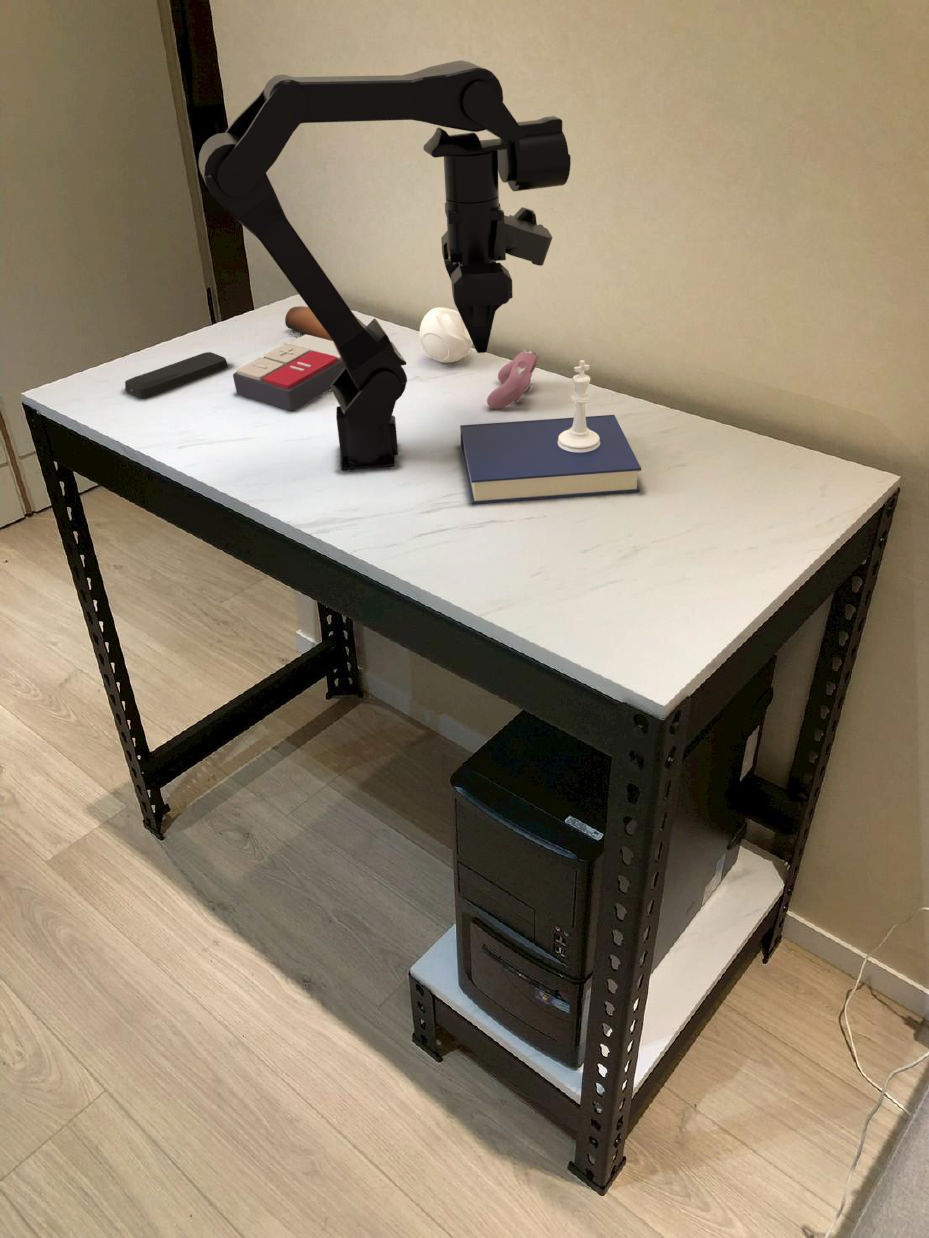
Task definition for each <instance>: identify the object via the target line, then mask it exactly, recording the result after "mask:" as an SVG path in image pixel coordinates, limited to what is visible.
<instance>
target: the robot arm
mask: <svg viewBox="0 0 929 1238" xmlns="http://www.w3.org/2000/svg"><path fill="white" fill-rule="evenodd" d="M383 121H384V122H385V121H386V122H387V121H415V122H421V123H427V124H430V125H434V126H439V127H437V128H436V129H435V132H434V133H433V135H432V136H431V137H430V138H429V139H428V141H426V143H424V144H423V148H422V149H423V151H424V152H425V153H427V154H428V155H430V156H431V157H432V158H435V159H436V158H443V168H444V169H443V170H444V188H445V202H444V213H445V217H446V228H447V230H446V231H445V232H444V234H443V235H442V236H441V240H440V241H441V254H442V258H443V263H444V267H445V269H446V272H447V274H448V277H449V279H450V283H451V292H452V298H453V302H454V305H455V307H456V310H457V311H458V312H459V314H460V316H461V318H462V320H463V322H464V325H465V327H466V329H467V331H468V333H469V336H470V338H471V340H472V343H473V345H472V346H473V347H474V349H475V351H476V353H477V354H482V353H483V354H484V353H487V351H488V348H489V342H490V337H491V333H492V329H493V324H494V319H495V315H496V312H497V311H498V309H500V308H501V307H502V306H503V305H506V304H507V303H508V302H509V301H510V300H511V299H513V297H514V295H513V278H512V277H511V274H510V271H509V270H508V268H506V267H505V266H504V265H503V264H502V263H501V262H499V261H506V260H507V257H506V255H509V256H512V257H515V258H518V259H521V260H525V261H527V262H531V264H532V265H535V266H541V267H542V266H544V263H545V261H546V258H547V255H548V253H549V249H550V247H551V244H552V240H553V235H552V234H551V232H550V231H549V229H548V228H547V227H544V225H543V224H542V223H540V224H538V223H537V222H538V221H537V214H536V213H535V211H534V210H533V209H530V208H528V207H527V208H526V207H524V206H521V207H520V208H519V210H517V212H515V214H513V215H512V214H509V215H506V214H505V211H504V210H503V209H502V207H501V203H500V196H499V195H500V193H499V179H500V180H501V182H502V183H505V184H506V183H507V185H508V187H509V188H510V190H511V191H512V192H522V191H529V190H535V189H536V190H538V189H545V188H546V189H547V188H552V187H562V186H564V185H566V184H567V182H568V179H569V177H570V173H571V163H572V162H571V160H572V159H571V154H569V148H568V146H569V145H568V142H567V139H566V135H565V133H564V132H563V120H562V119H561V118H559V117H557V116H555V115H551V116H544V117H542V118H539V119H533V120H525V121H517V120H516V118H515V117H514V115H512V113H511V111H510V110H509V109H508V107H507V105H506V104H505V103H504V92H503V87H502V85H501V82H500V80H499V79H498V77H497V76H496V75H495V73H494V72H493V71H491V70H489V69H487V68H485V67H482V66H480V65H477V64H475V63H473V62H470V61H467V60H453V61H450V62H444V63H441V64H436V65H431V66H428V67H426V68H423V69H420V70H417V71H414V72H410V73H406V74H399V75H398V74H395V75H340V76H335V75H334V76H331V75H330V76H292V75H288V74H283V73H282V74H278V75H274V76H272V78H270V79H268V81H267V83H266V84H265V85H264V88H263V89H262V90H261V92H260V93H259V94H258V95H257V97H255V99H254V100H253V101H252V102H250V104H249V105H247V107H246V108H245V109H244V110H243V111H242V112H241V113H240V114H239V115H238V116H237V117H236V118H235V119H234V120H233V121H232V123H231V124H230V125H229V126H228V128H227V129H226V130H225V132H221V133H216V134H214V135H212V136H210V137H209V138H208V139H207V140H205V142H204V143H203V144H202V146H201V149H200V151H199V154H198V169H199V172H200V175H201V176H202V179H203V181H204V184H205V186H206V188H207V190H208V191H209V193H210V195H211V196H212V197H213V198H214V200H216V201H217V202H218V203H219V204H220V205H221V206H222V207H223V208H224V209H225V210H226V211H227V212H228V214H230V215H231V216H232V217H233V218H234V219H235V220H236V221H237V222H239V224H241V225H242V226H243V227H244V228H245V229H246V230H247V231H248V232H250V233H251V235H253V236H255V237H256V239H258V241H260V243H261V245H262V246H263V248H264V249H265V250H266V251H267V253H268V254H269V255H270V257H271V258H272V260H274V262H275V264H276V265H277V267H278V268H279V269H280V270H281V272H282V273H283V274H284V276H285V277H286V279H287V280H288V281H289V282H290V284H291V285H292V287H293V289H295V291H296V292H297V294H298V295H299V296H300V297H301V300H303V302H304V303H305V305H306V307H309V308H310V310H311V311H312V313H313V314H314V315H315V317H316V318H317V319H318V321H319V322H320V324H321V325H322V326H323V328H324V329H325V330H326V332H327V333H328V334H329V336H330V337H331V339H332V340H333V342H334V345H335V347H336V349H337V351H338V353H339V355H340V358H341V360H342V362H343V364H344V366H345V367H344V369H343V370H342V371H341V372H340V374H339V375H338V376H337V377H336V378H335V380H334V381H333V382H332V383H331V385H330V388H331V389H330V390H331V391H332V393H333V395H334V397H335V399H336V401H337V403H338V406H336V409H335V410H336V412H335V413H336V414H335V415H336V417H335V418H336V427H337V435H338V443H339V453H340V456H339V459H340V460H339V464H340V465H339V467H340V468H339V469H340V470H341V471H343V472H344V471H346V472H347V471H349V472H350V471H361V470H374V469H389V468H394V467H395V466H396V460H395V459H396V458H395V457H397V456H398V455H399V447H398V436H397V434H398V433H397V422H396V416H394V415H393V413H394V410H395V406H396V402H397V401H398V400H399V399H400V398H401V397H402V396H403V394H404V392H405V390H406V388H407V387H406V386H407V383H408V376H407V374H406V371H405V369H404V367H403V366H406V365H407V361H406V360H405V358H404V357H403V355H402V354H401V353H400V351H399V350H398V349H397V347H396V345H395V344H394V342H392V341H391V339H390V338H389V335H388V334H387V333H386V331H385V330H384V329H383V327H382V326H381V324H380V323H379V321H378V320H377V319H376V318H373V319H372V320H370V322H369V323H368V324H367V325H366V324H365V323H364V322H363V321H361V319H359V318H358V317H357V316H356V315H355V314H354V312H353V311H352V310H351V308H350V307H349V305H348V303H346V301H345V299H344V298H343V296H342V295H341V294H340V292H339V291H338V289H337V288H336V286H335V285H334V283H333V282H332V281H331V280H330V278H329V277H328V275H327V274H326V272H325V271H324V269H323V268H322V267H321V265H320V264H319V262H318V261H317V259H316V258H315V256H314V255H313V253H312V252H311V250H309V248H308V247H307V245H306V243H305V242H304V241H303V239H302V238H301V237H300V235H299V233H298V232H297V231H296V230H295V228H294V227H293V224H291V221H290V220H289V219H288V218H287V216H286V213H285V212H284V209H283V207H282V204H281V203H280V200H279V198H278V196H277V193H276V191H275V189H274V187H273V185H272V182H271V181H270V179H269V176H268V174H267V172H268V171H269V170H270V169H271V167H272V166H273V165H274V164H275V163H276V161H277V160H278V158H279V156H280V155H281V153H282V151H284V149H285V146H286V145H287V144H288V142H289V140H290V138H291V137H292V135H293V134H294V132H295V131H296V130H297V128H299V126H300V125H302V124H313V123H314V124H316V123H350V122H351V123H352V122H383ZM441 127H443V128H447V129H448V128H449V129H453V130H459V131H466V132H465V133H457V134H448V132H447V131H446V130H445V129H443V128H441ZM484 131H486V132H488V133H489V134H492V135H493V136H495V137H497V138H493V139H482V140H481V139H480V138H479V136H478V134H477V133H479V132H480V133H481V132H484Z"/></svg>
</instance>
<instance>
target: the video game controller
mask: <svg viewBox="0 0 929 1238" xmlns="http://www.w3.org/2000/svg"><path fill="white" fill-rule="evenodd" d="M539 358H540V355H538V354H537V353H536V352H534V351H532V350H531V351H527V350H526V349H525V348H524V349H523V351H521V352H519V353H518V354H517V355H516V356H515V357H514V358H513V359H512V360H511V361H510V362H508V363H507V364H505V365H504V366H502V367H501V368H500V370H499V372H498V374H497V379H498V382H500V384H501V385H499V386H498V387H497V388H495V389H494V390H493V391H491V392H490V393H489V395H488V396H487V399H486V404H487V407H488V408H491V409H492V410H497V409H503V408H505V407H507V406H509V405H511V404H513V403H516V404H517V403H518V401H519V399H520V398H522V396H523V394H524V393H525V392H528V393H529V392H530V391H532V389H533V388H534V383H531V381H532V376H533V373H534V371H535V370H536V367H537V363H538V361H539Z"/></svg>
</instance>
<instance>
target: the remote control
mask: <svg viewBox="0 0 929 1238" xmlns="http://www.w3.org/2000/svg"><path fill="white" fill-rule="evenodd" d="M228 367H229V365H228V362H227V359H226V357H224V356H222V355H220V354H216V353H214V352H210V351H206V352H203V353H200V354H197V355H194V356H190V357H188V358H185V359H183V360H180V361H177V362H174V363H172V364H169V365H168V364H167V365H165V366H162V367H160V368H157V369H154V370H152V371H149V372H146V373H143V374H139V375H136V376H133V377H131V378H129V379H127V380H125V381H124V389H125V390H124V391H125V392H127V393H128V394H130V395H132V396H135V398H139V399H147V398H149V397H152V396H155V395H157V394H160V393H163V392H166V391H170V390H171V389H174V388H177V387H179V386H182V385H184V384H187V383H190V382H193V381H195V380H198V379H201V378H203V377H206V376H209V375H211V374H215V373H217V372H220V371H222V370H225V369H227V368H228Z"/></svg>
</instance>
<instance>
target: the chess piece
mask: <svg viewBox="0 0 929 1238" xmlns="http://www.w3.org/2000/svg"><path fill="white" fill-rule="evenodd" d="M590 367H591V365H590V364H586V361H585V360H583V359H581V360H579V363H578V366H574V367H573V371H574V372H575V373H576V374H575V375H573V377H572V384H573V386H574V391H575V393H573V394H572V395H571V397H570V400H571V401H572V402H573V403H575V408H574V409H575V410H574V415H573V418H574V420H573V426H572V427H571V428H570V429H569V430H566V431H564V432H562V433H561V434H560V435H559V437H558V445H559V447H560V448H562V449H564V450H566V451H569V452H575V453H584V452H590V451H593V450H595V449H597V448H598V447H599V445H600V441H599V440H600V438H599V435H598V434H597V433H595V432H594V431H591V430H589V429H588V428H587V426H586V417H587V416H586V404H585V403H588V402H590V400H591V397H590V395H589V394H588V393H587V390H588V387H589V384H590V382H591V376H590V375H588V374H585V371H590ZM577 373H578V374H577Z"/></svg>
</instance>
